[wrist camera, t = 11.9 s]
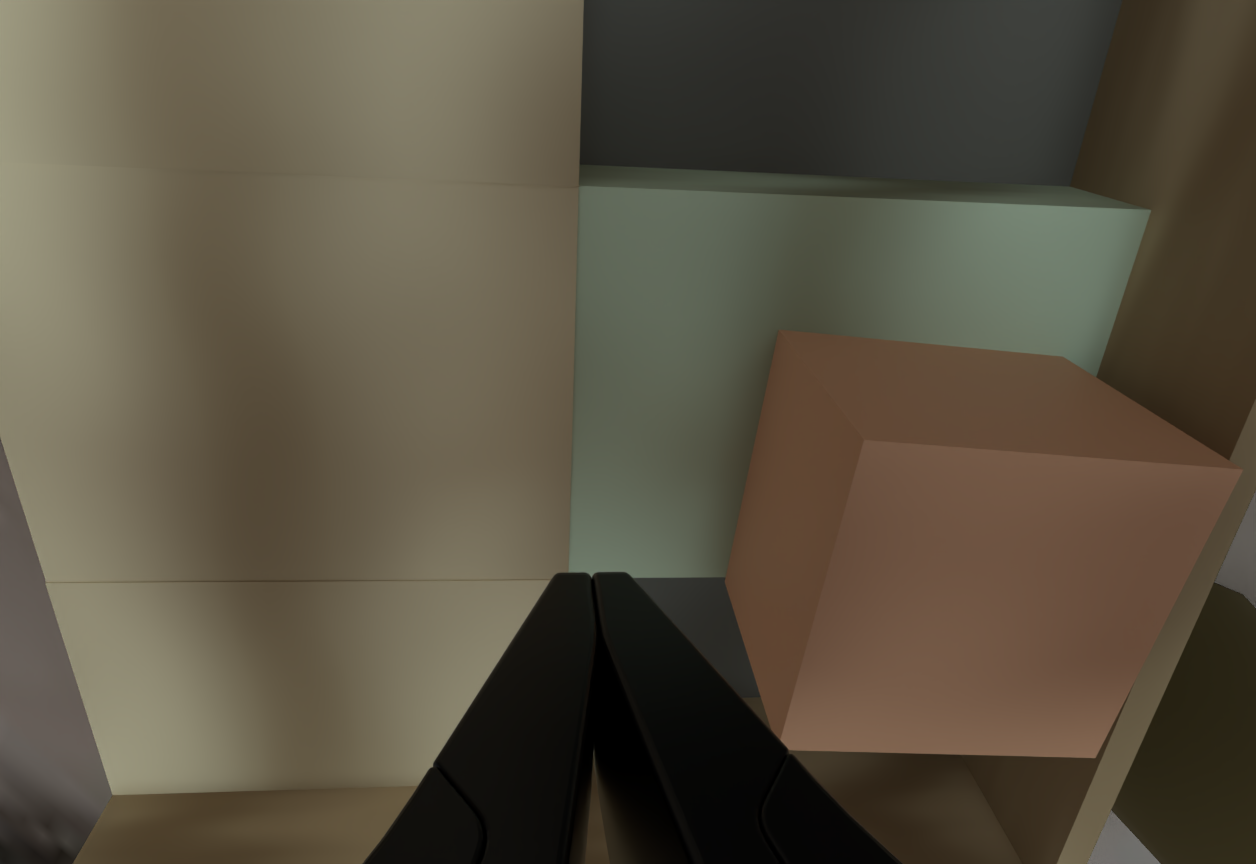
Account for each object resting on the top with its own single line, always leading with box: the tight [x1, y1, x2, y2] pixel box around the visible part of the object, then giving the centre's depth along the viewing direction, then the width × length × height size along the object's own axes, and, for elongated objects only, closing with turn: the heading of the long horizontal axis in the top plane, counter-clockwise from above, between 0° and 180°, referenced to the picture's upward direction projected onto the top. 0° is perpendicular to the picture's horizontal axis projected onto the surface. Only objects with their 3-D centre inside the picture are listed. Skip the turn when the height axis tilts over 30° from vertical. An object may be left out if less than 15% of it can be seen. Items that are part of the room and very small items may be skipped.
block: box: [725, 330, 1243, 758], centre depth 13 cm, size 5×5×4 cm
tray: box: [0, 0, 1256, 864], centre depth 12 cm, size 19×22×6 cm
